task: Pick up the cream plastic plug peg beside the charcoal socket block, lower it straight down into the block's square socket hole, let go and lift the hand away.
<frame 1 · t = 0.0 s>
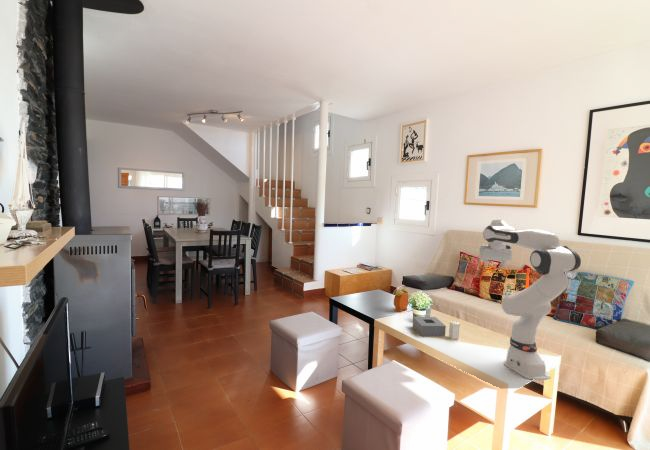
hand: (494, 267, 206), 48 cm above the table, fingers open, 8 cm apart
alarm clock: (400, 310, 262), on the table
plug peg: (453, 337, 213), on the table
socket block: (428, 331, 222), on the table
small box: (423, 321, 241), on the table
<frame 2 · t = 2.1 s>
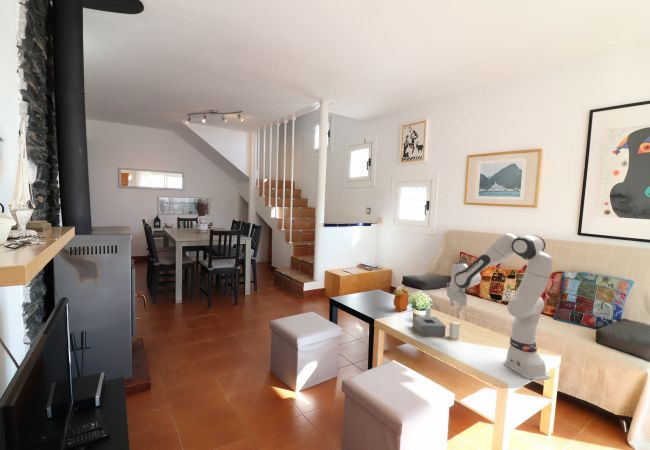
hand: (455, 308, 211), 20 cm above the table, fingers open, 8 cm apart
nothing on the table moved.
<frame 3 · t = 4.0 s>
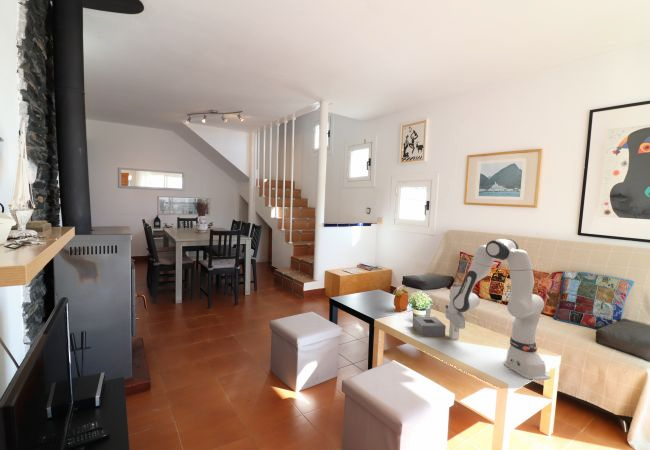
hand: (454, 329, 212), 5 cm above the table, fingers closed on plug peg, 4 cm apart
plug peg: (453, 337, 213), on the table, touching gripper
everything else where it was.
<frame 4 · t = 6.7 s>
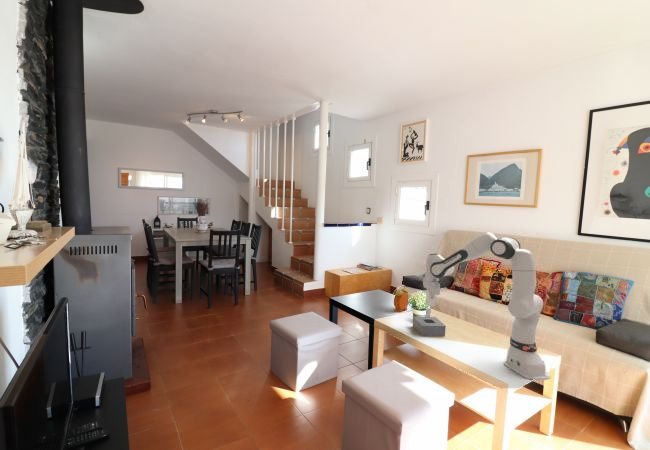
hand: (430, 297, 220), 23 cm above the table, fingers closed on plug peg, 4 cm apart
plug peg: (430, 304, 220), point 18 cm above the table, touching gripper
everything else where it was.
when the fingers open (8 cm above the table, at t = 9.6 s): plug peg drops 3 cm, resting in socket block.
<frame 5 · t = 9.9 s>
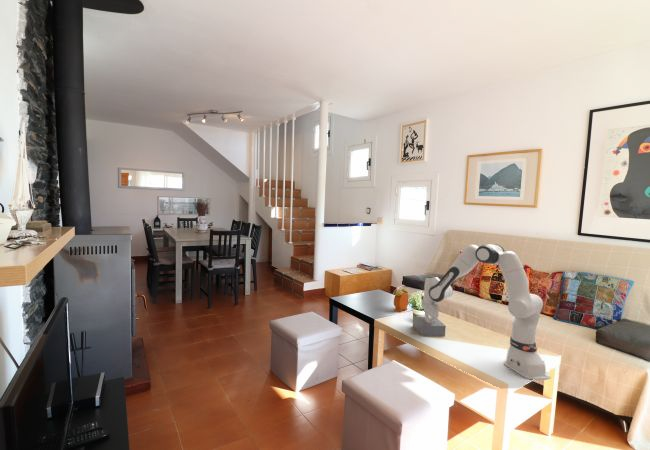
hand: (429, 319, 221), 8 cm above the table, fingers open, 8 cm apart
plug peg: (428, 331, 222), resting in socket block
everything else where it was.
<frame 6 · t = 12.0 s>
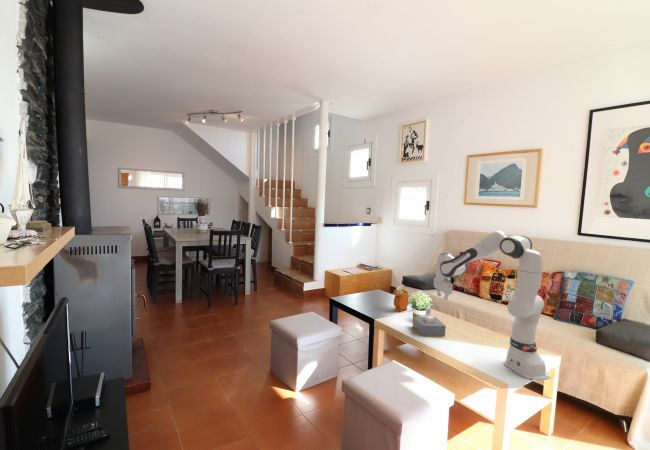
hand: (442, 297, 218), 24 cm above the table, fingers open, 8 cm apart
nothing on the table moved.
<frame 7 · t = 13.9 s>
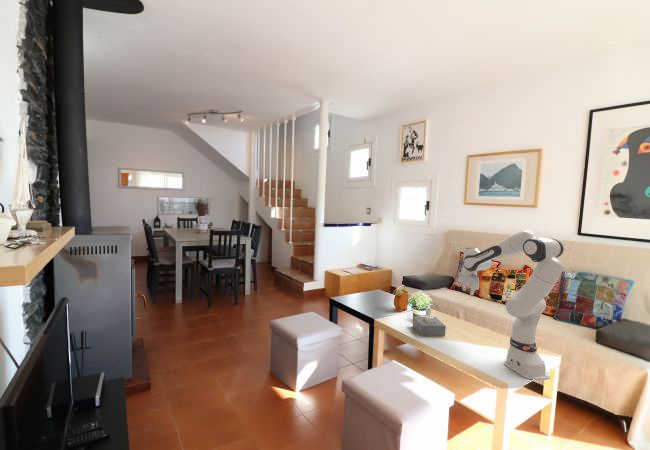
hand: (467, 292, 214), 29 cm above the table, fingers open, 8 cm apart
nothing on the table moved.
at the end: plug peg 0.1 cm off-centre on the socket block, point 0.0 cm above the socket block's base; plug peg tilted 0°; the gripper is holding nothing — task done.
